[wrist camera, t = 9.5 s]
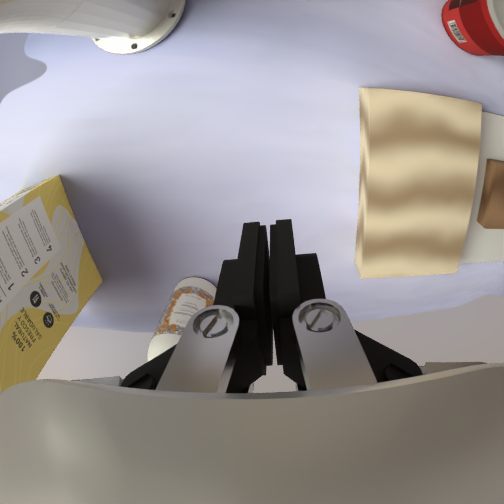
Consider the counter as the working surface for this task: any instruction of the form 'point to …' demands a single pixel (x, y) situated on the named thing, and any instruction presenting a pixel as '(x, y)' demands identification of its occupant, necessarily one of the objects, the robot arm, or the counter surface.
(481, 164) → the cream mat
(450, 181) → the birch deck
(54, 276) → the pasta box
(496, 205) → the walnut tile
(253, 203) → the counter surface
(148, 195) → the counter surface
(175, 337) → the bath foam
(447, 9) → the canned food
